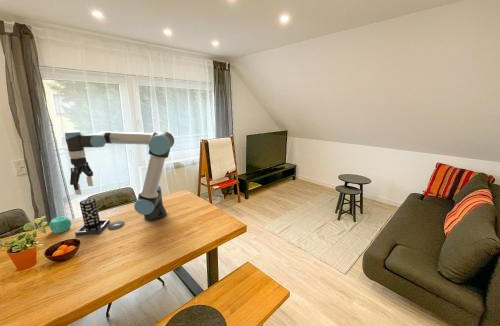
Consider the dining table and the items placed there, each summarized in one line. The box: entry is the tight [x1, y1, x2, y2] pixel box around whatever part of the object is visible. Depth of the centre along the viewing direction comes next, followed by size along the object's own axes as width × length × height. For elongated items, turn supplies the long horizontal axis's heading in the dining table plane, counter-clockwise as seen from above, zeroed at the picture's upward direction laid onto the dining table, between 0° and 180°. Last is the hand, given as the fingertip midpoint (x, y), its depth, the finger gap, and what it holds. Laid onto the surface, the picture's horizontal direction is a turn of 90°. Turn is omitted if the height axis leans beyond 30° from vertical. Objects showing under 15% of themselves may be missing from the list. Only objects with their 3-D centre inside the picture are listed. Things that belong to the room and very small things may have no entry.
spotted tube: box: [79, 198, 102, 231], centre depth 142 cm, size 8×8×20 cm
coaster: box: [106, 220, 126, 231], centre depth 148 cm, size 10×10×1 cm
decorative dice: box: [48, 215, 72, 234], centre depth 142 cm, size 8×8×8 cm
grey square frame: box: [74, 218, 111, 237], centre depth 144 cm, size 14×14×2 cm
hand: (84, 190), depth 137 cm, fingers open, 13 cm apart
